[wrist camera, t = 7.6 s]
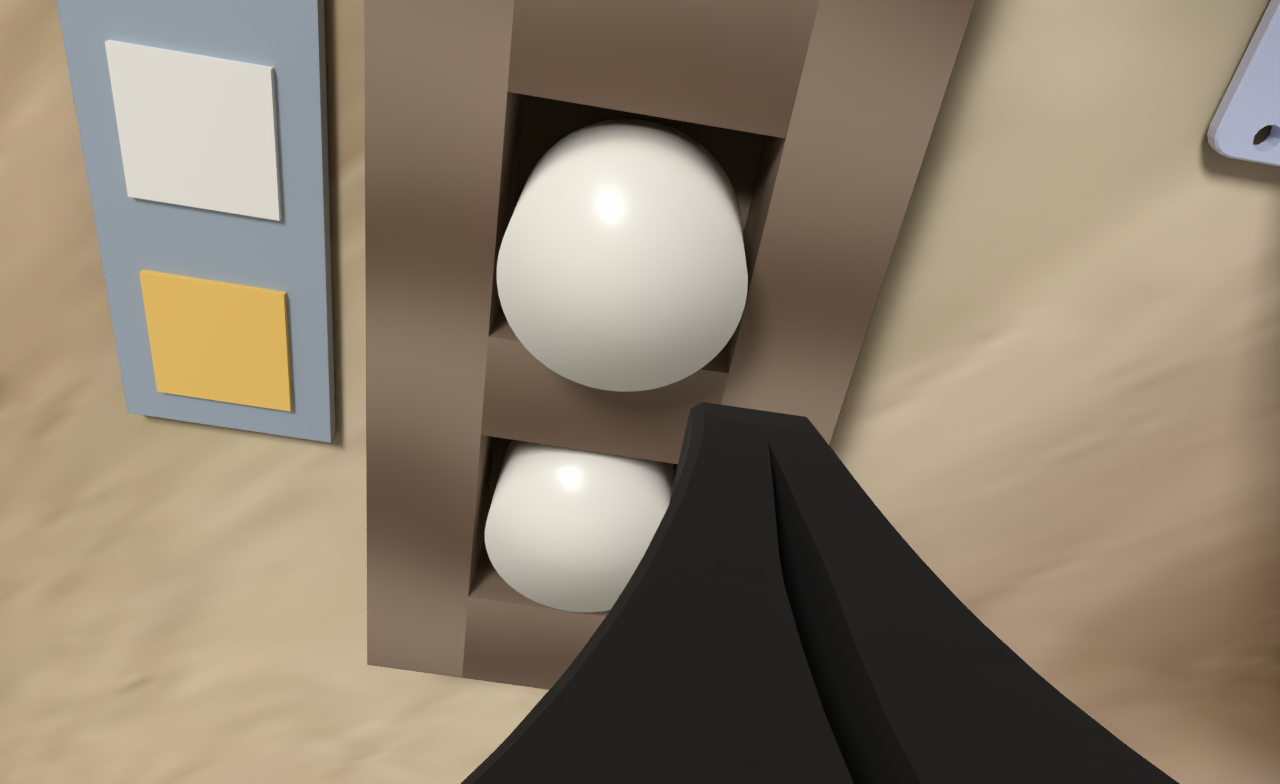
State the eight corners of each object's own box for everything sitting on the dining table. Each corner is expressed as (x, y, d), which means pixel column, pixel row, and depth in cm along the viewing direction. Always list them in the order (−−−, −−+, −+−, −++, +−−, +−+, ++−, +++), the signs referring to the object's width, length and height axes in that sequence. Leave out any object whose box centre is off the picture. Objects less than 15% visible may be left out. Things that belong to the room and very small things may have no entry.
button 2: (528, 100, 17) (506, 143, 15) (763, 139, 17) (773, 187, 15) (509, 310, 20) (487, 372, 17) (716, 342, 20) (719, 407, 18)
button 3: (509, 393, 23) (491, 455, 20) (689, 420, 23) (689, 484, 21) (496, 530, 25) (478, 598, 23) (659, 553, 25) (657, 623, 23)
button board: (414, -759, 13) (359, -868, 11) (1119, -610, 13) (1200, -685, 11) (392, 596, 27) (367, 664, 25) (735, 644, 27) (740, 715, 25)
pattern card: (11, -345, 15) (-10, -350, 15) (316, -288, 16) (304, -291, 15) (136, 403, 24) (124, 416, 23) (335, 433, 24) (328, 446, 23)
